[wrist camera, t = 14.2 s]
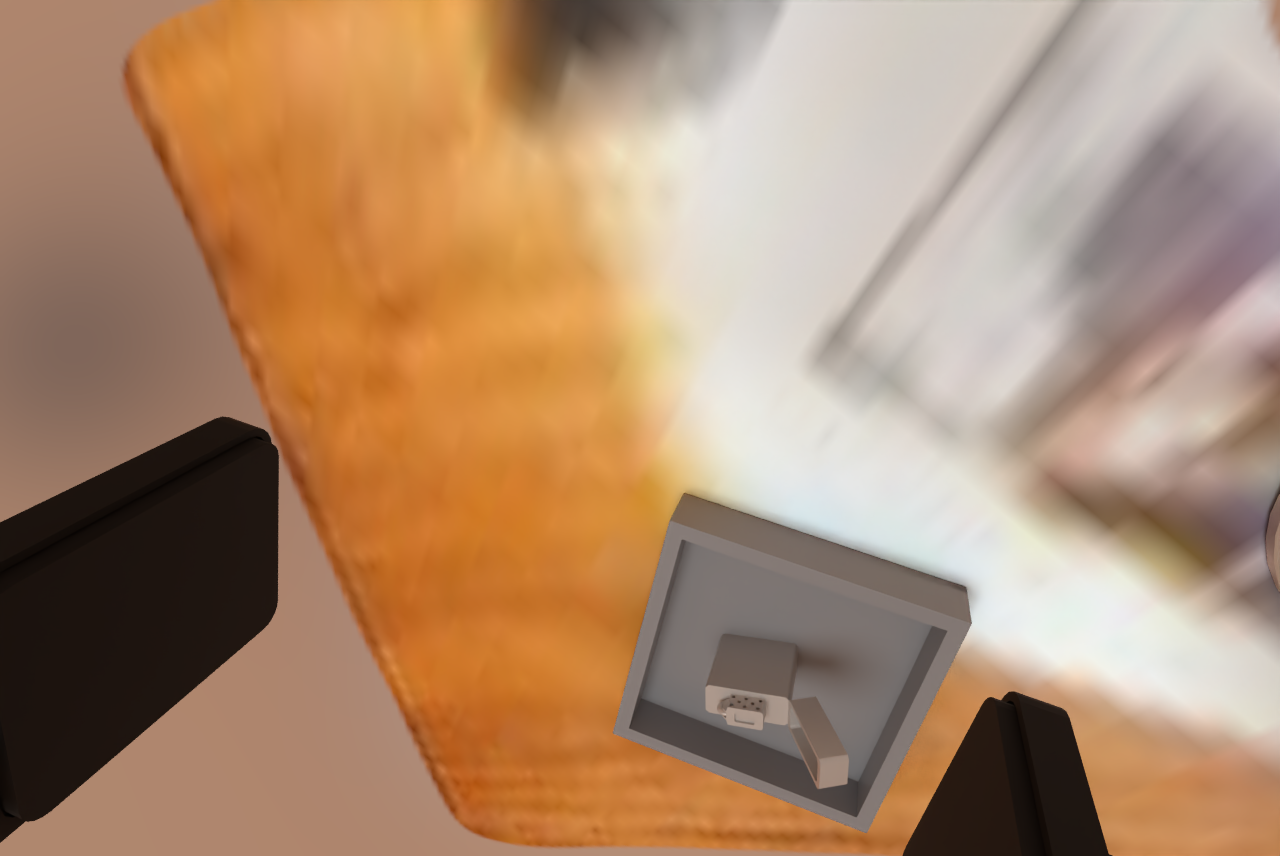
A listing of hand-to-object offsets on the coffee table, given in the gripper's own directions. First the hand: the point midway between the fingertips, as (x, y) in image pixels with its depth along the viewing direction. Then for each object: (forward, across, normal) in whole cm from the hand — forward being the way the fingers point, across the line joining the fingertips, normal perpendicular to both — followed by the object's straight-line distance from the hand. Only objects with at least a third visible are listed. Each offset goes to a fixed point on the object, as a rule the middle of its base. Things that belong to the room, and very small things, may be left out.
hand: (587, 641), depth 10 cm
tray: (+28, -5, +21) cm, 36 cm away
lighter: (+28, -5, +21) cm, 35 cm away
